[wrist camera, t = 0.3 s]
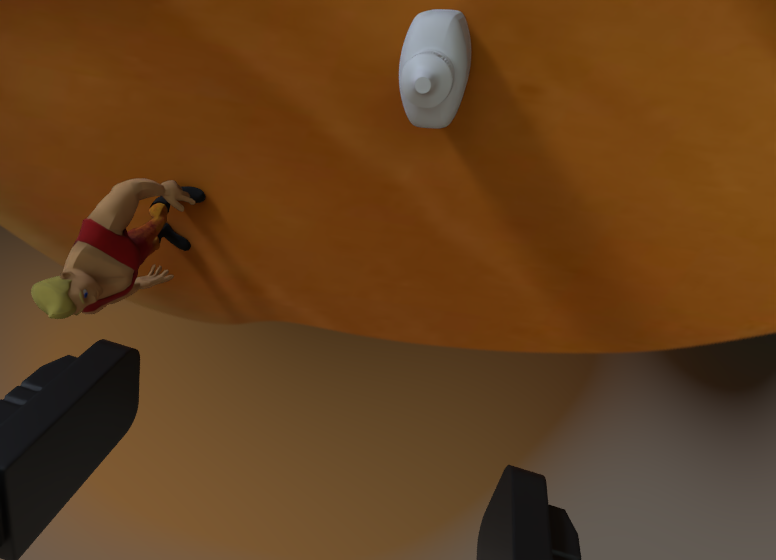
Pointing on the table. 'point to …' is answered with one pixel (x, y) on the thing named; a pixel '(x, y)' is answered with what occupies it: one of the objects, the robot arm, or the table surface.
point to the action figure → (115, 250)
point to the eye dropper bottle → (435, 67)
